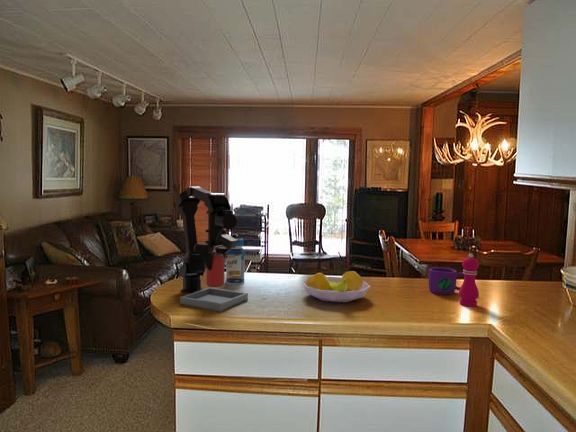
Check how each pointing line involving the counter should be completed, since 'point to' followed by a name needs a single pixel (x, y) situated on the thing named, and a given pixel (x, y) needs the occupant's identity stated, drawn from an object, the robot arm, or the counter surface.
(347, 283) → the fruit bowl
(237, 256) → the beverage bottle
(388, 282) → the counter surface
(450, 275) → the mug
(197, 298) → the tray
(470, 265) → the pepper mill
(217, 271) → the beer can
